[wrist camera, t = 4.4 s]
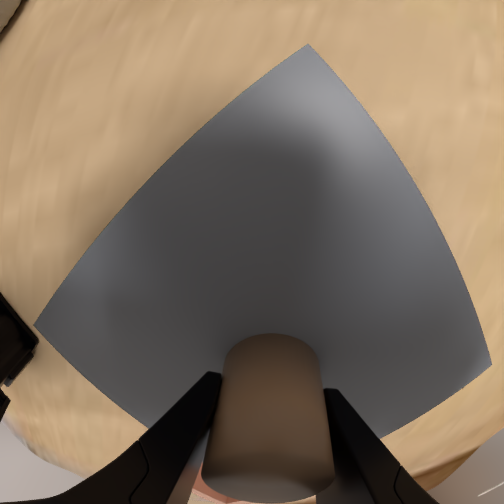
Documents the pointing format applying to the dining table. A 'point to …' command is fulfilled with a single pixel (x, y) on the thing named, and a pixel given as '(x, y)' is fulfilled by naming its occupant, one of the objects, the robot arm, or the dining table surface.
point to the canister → (7, 11)
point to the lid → (274, 287)
